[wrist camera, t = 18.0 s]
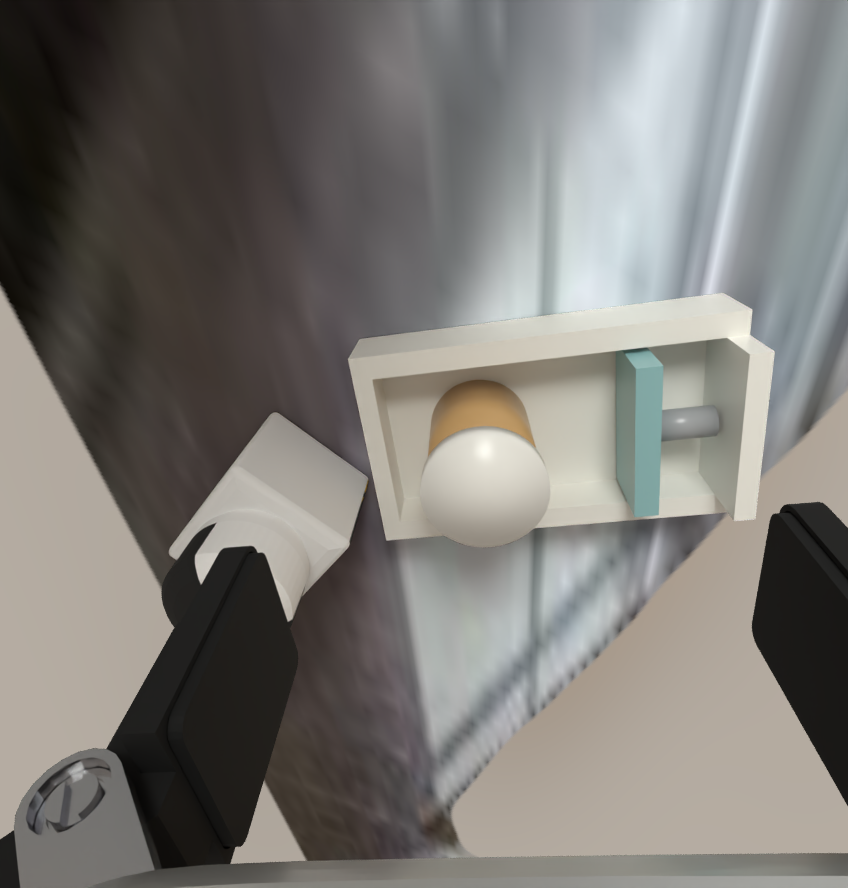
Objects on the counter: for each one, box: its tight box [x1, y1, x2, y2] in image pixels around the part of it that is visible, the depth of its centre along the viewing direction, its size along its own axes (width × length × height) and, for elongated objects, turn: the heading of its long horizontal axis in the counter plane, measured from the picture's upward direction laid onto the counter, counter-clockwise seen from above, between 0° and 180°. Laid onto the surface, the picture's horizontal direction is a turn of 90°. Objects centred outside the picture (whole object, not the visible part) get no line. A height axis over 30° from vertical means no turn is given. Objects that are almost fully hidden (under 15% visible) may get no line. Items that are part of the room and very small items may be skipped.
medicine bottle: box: [162, 412, 369, 627], centre depth 32 cm, size 7×7×12 cm
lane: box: [348, 293, 775, 541], centre depth 31 cm, size 11×19×6 cm, turn 98°
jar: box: [420, 380, 551, 548], centre depth 30 cm, size 6×6×8 cm
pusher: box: [616, 347, 719, 517], centre depth 30 cm, size 8×4×4 cm, turn 8°
